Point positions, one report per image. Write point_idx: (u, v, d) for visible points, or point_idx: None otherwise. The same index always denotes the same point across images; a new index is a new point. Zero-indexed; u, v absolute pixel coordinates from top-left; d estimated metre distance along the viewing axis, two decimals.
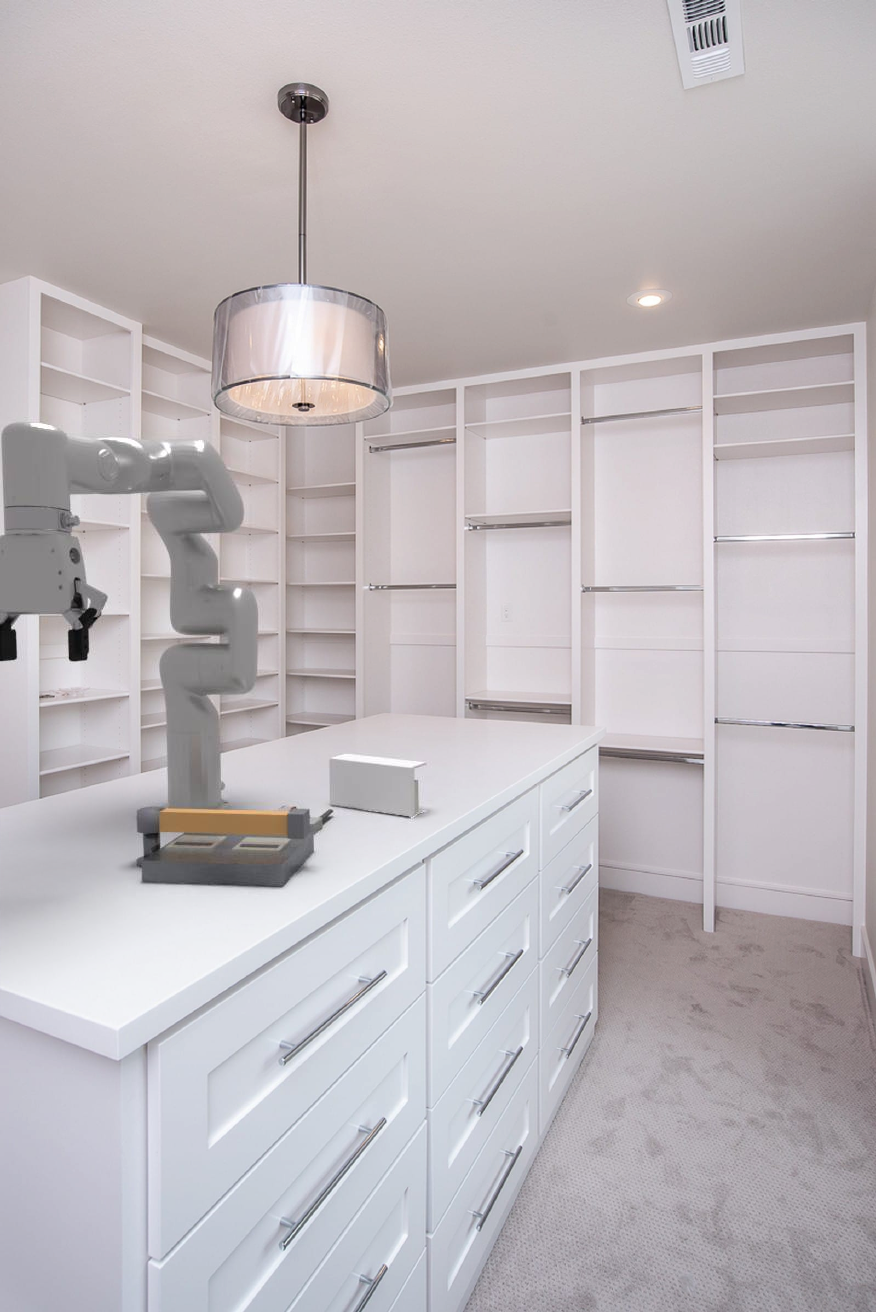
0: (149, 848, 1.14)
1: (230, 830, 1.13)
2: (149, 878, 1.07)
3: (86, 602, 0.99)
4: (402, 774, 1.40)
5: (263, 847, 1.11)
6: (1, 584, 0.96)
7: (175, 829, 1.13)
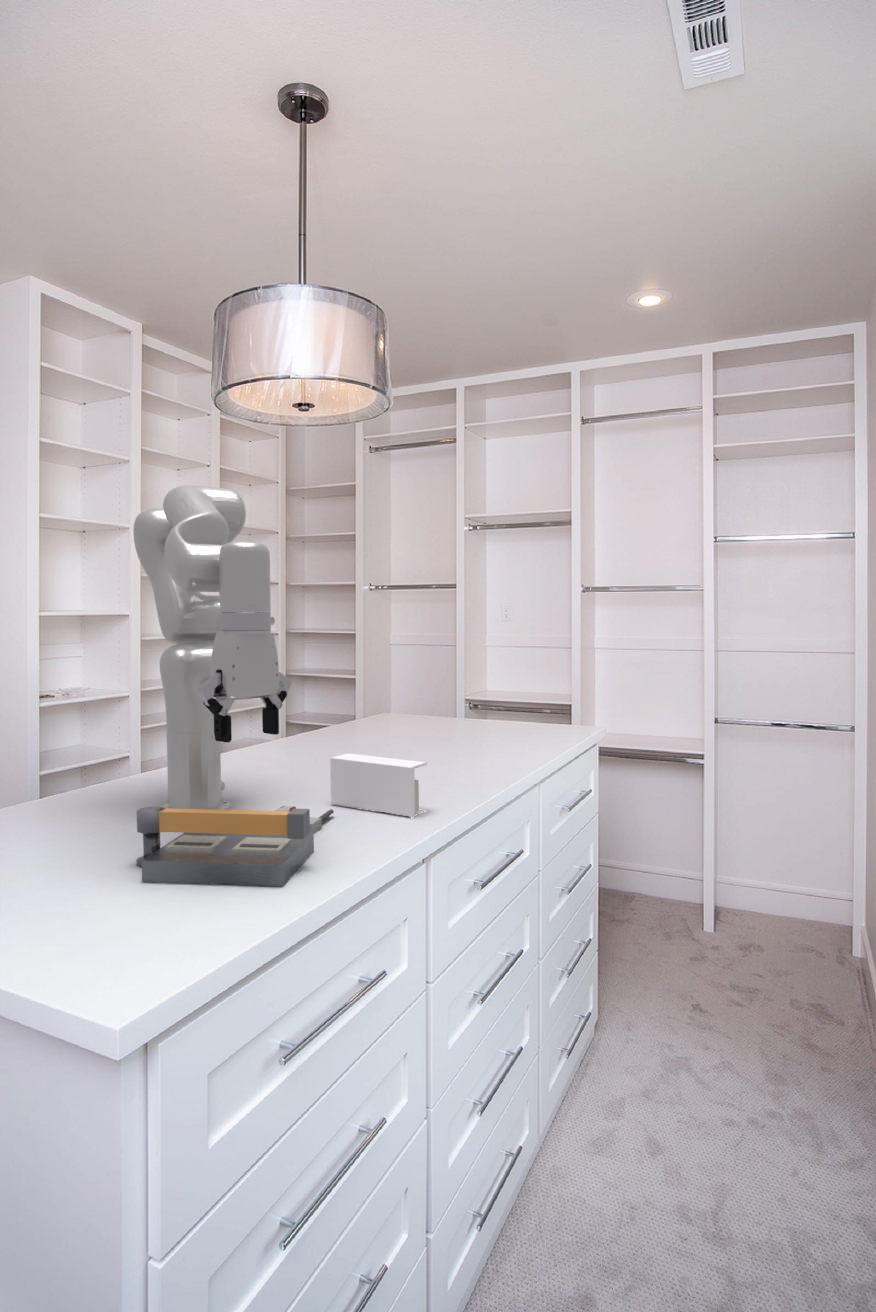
0: (149, 848, 1.14)
1: (230, 830, 1.13)
2: (149, 878, 1.07)
3: None
4: (402, 774, 1.40)
5: (263, 847, 1.11)
6: (236, 675, 1.14)
7: (175, 829, 1.13)
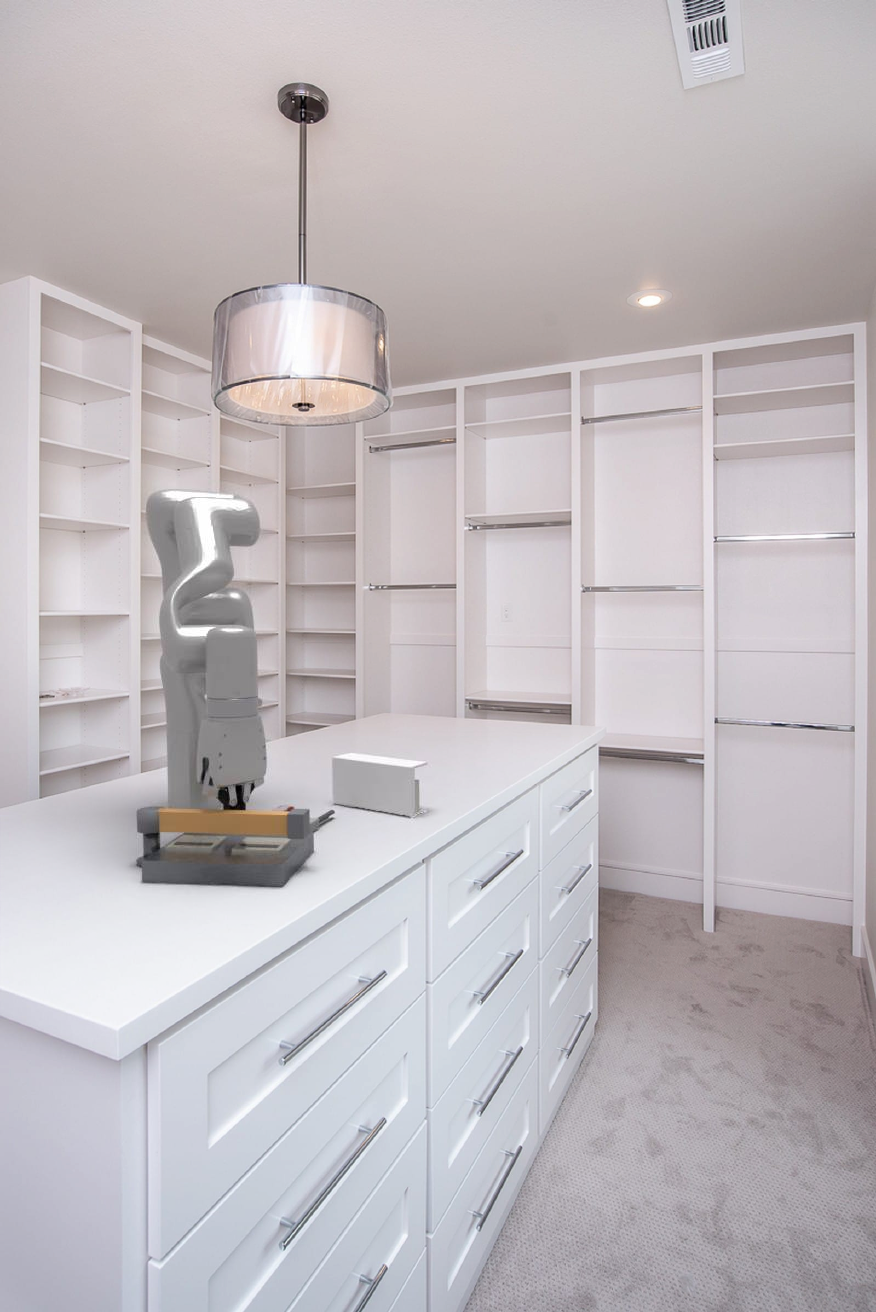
0: (149, 848, 1.14)
1: (230, 830, 1.13)
2: (149, 878, 1.07)
3: None
4: (402, 774, 1.40)
5: (263, 847, 1.11)
6: (223, 763, 1.12)
7: (175, 829, 1.13)
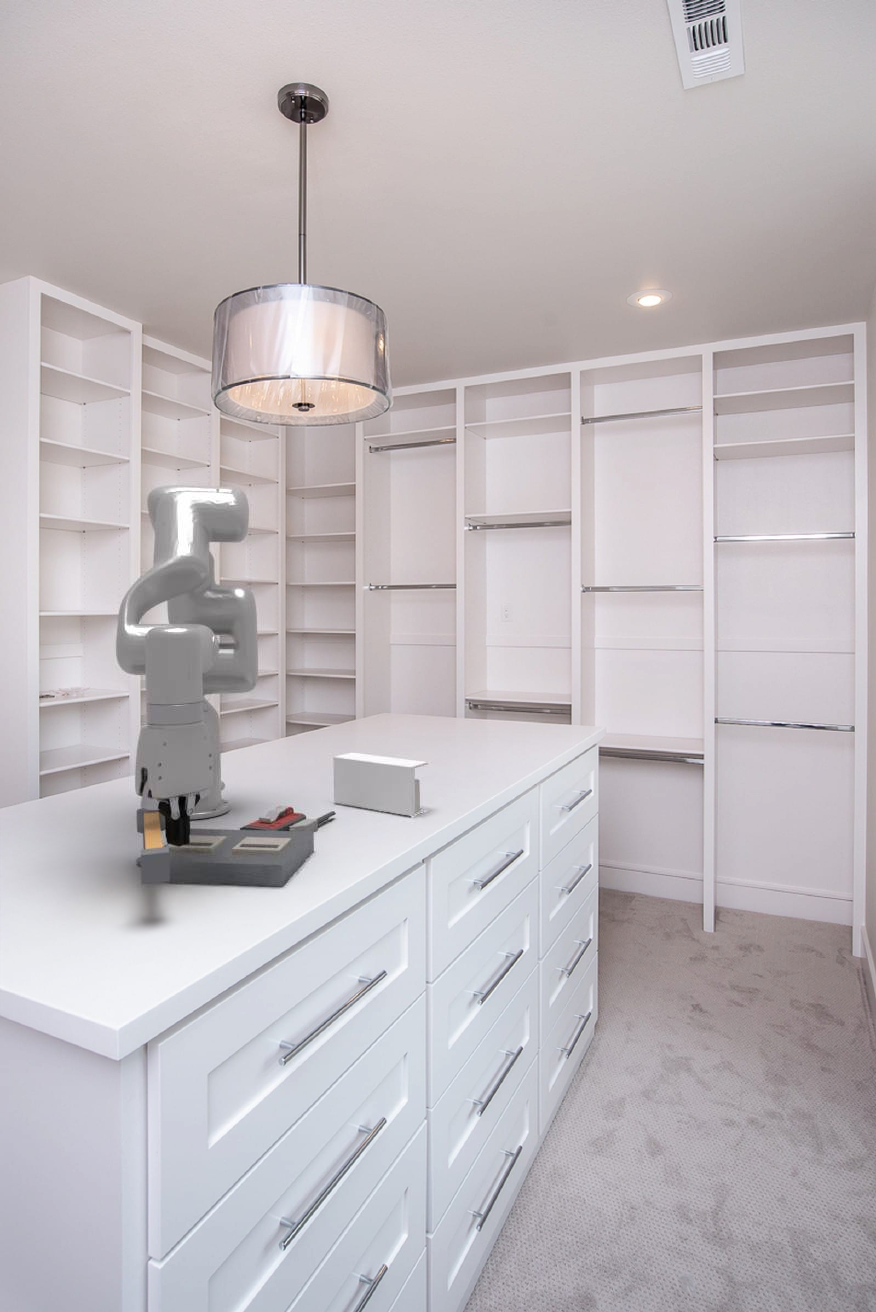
0: None
1: None
2: None
3: None
4: (402, 773, 1.41)
5: (263, 847, 1.11)
6: (163, 774, 1.04)
7: None
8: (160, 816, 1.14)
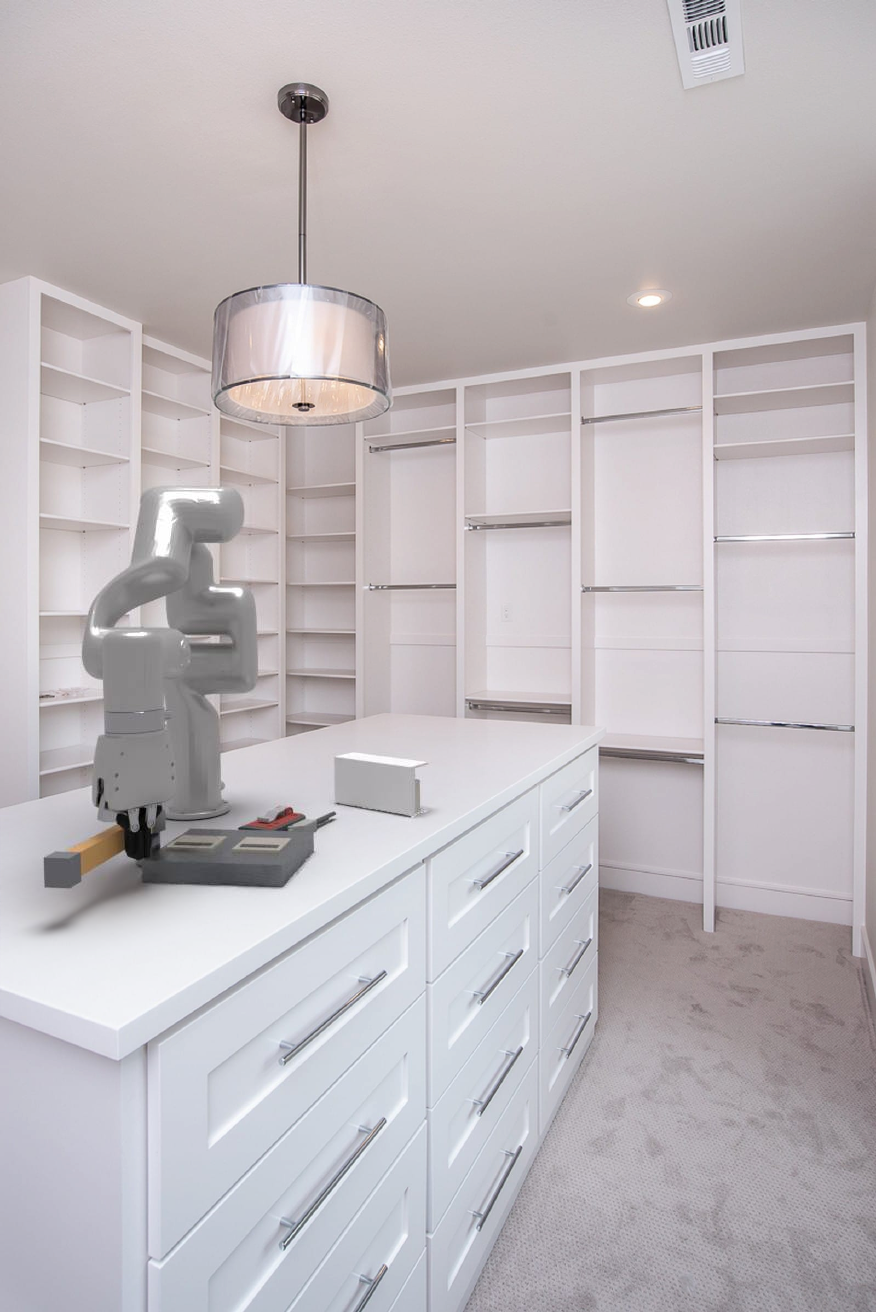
0: None
1: None
2: (149, 878, 1.07)
3: None
4: (402, 773, 1.41)
5: (263, 847, 1.11)
6: (120, 785, 1.00)
7: None
8: None
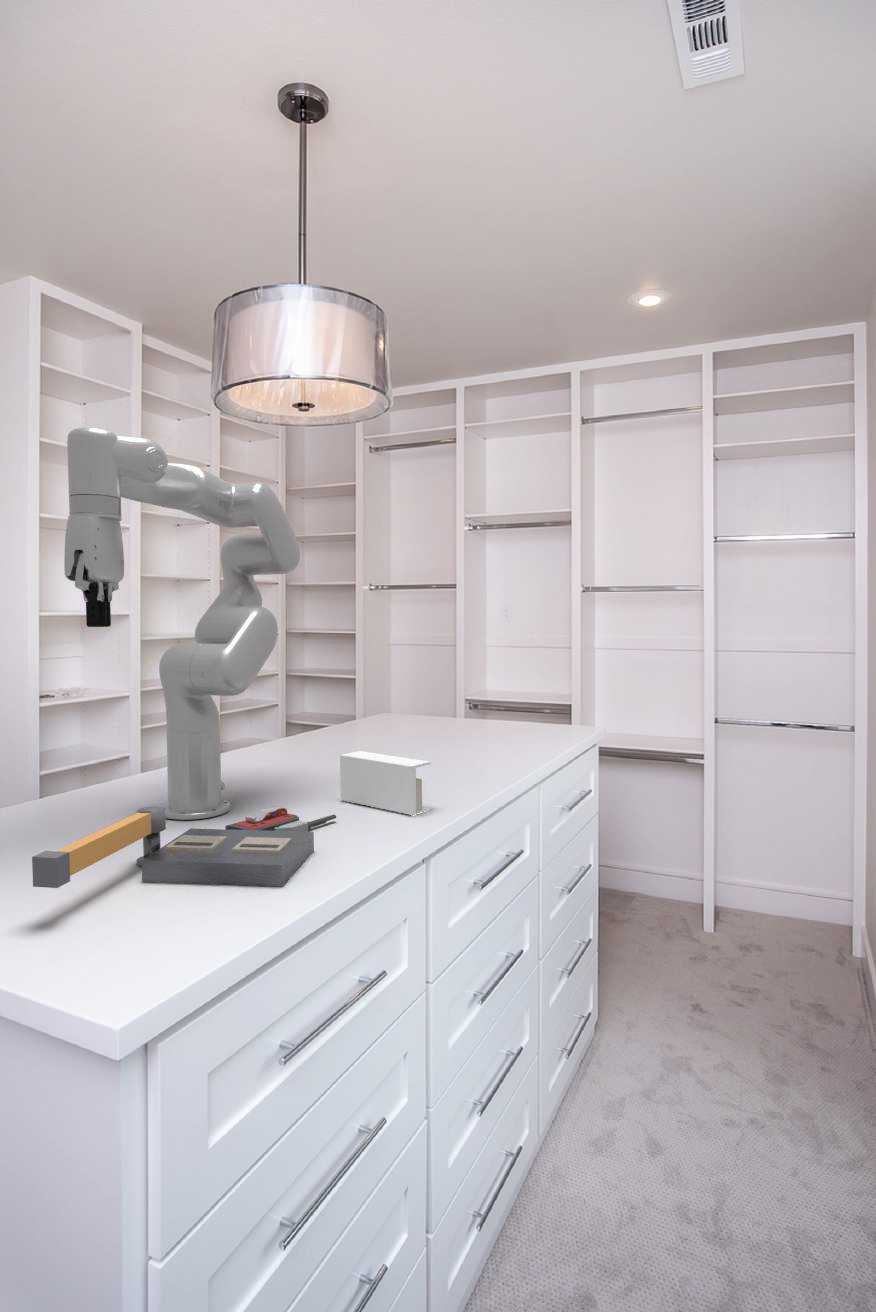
0: (149, 848, 1.14)
1: None
2: (149, 878, 1.07)
3: None
4: (403, 772, 1.41)
5: (263, 847, 1.11)
6: (97, 556, 1.18)
7: None
8: (153, 817, 1.13)
